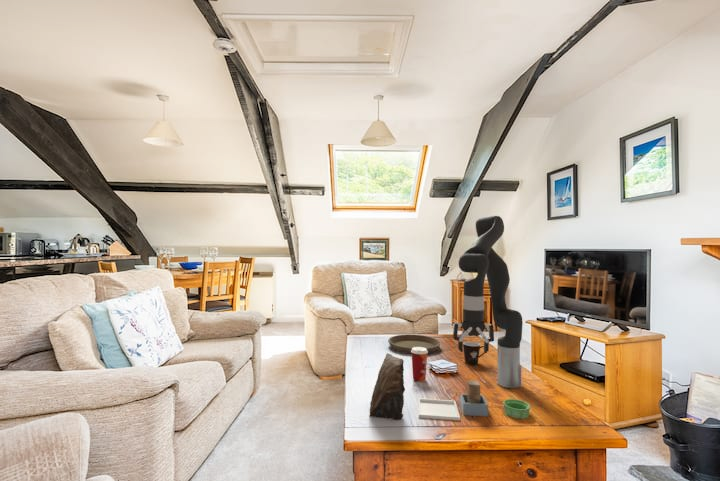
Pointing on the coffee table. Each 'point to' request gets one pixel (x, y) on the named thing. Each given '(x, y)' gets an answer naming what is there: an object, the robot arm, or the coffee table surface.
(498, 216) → the robot arm
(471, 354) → the coffee mug
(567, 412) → the coffee table surface
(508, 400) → the ramekin
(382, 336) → the coffee table surface
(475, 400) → the walnut peg
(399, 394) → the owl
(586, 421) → the coffee table surface
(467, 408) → the blue-grey open box
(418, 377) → the paper cup
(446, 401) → the cream tray
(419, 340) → the plant saucer
